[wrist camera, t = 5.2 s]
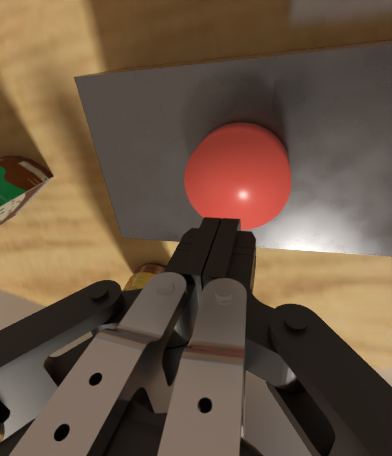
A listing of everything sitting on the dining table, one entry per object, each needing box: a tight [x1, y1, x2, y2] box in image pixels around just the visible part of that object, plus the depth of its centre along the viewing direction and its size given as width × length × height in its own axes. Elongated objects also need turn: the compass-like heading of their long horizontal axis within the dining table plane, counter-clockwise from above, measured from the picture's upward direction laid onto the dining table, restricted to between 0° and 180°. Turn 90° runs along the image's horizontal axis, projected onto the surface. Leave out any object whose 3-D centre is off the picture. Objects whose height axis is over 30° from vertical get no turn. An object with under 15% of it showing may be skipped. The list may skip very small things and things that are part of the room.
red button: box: [184, 122, 291, 230], centre depth 18 cm, size 6×6×7 cm
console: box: [74, 40, 392, 257], centre depth 20 cm, size 20×12×6 cm, turn 96°
